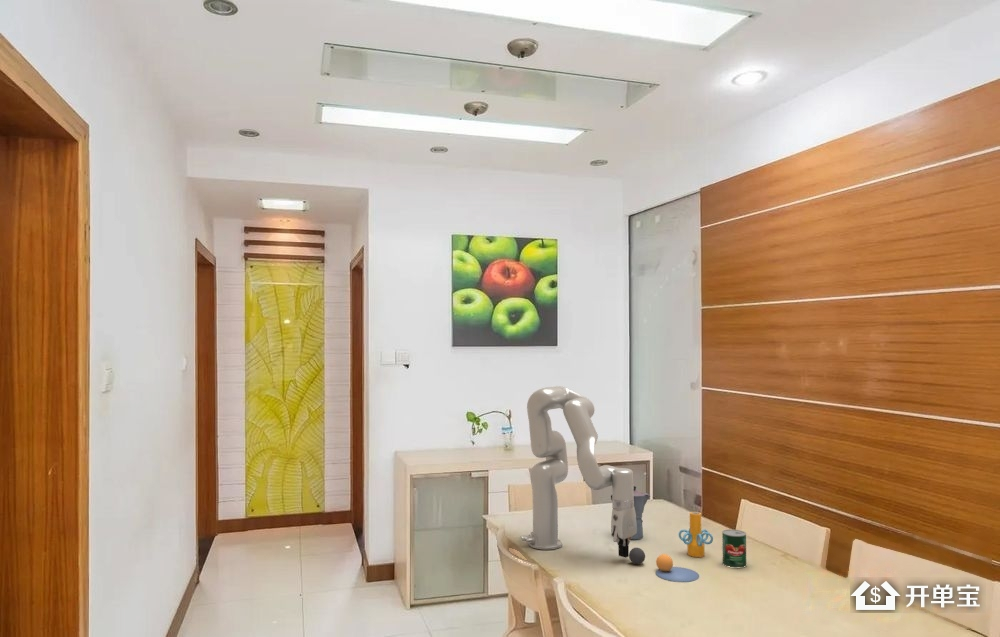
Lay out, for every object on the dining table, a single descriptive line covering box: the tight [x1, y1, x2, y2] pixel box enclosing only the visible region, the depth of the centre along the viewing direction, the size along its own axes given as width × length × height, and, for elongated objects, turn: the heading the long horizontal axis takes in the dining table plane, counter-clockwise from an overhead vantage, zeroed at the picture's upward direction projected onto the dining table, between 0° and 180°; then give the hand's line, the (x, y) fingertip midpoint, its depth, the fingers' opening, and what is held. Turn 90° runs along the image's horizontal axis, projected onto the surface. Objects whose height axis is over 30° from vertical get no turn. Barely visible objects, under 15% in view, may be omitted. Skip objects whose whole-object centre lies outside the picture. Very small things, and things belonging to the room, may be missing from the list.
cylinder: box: [678, 511, 714, 558], centre depth 245 cm, size 12×10×15 cm
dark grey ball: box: [628, 547, 646, 565], centre depth 235 cm, size 6×6×6 cm
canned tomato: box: [721, 529, 747, 568], centre depth 234 cm, size 8×8×11 cm
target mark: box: [655, 566, 700, 583], centre depth 224 cm, size 14×14×1 cm
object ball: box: [655, 553, 674, 572], centre depth 227 cm, size 6×6×6 cm
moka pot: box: [610, 485, 651, 540], centre depth 267 cm, size 10×15×20 cm, turn 89°
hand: (623, 556), depth 239 cm, fingers closed
